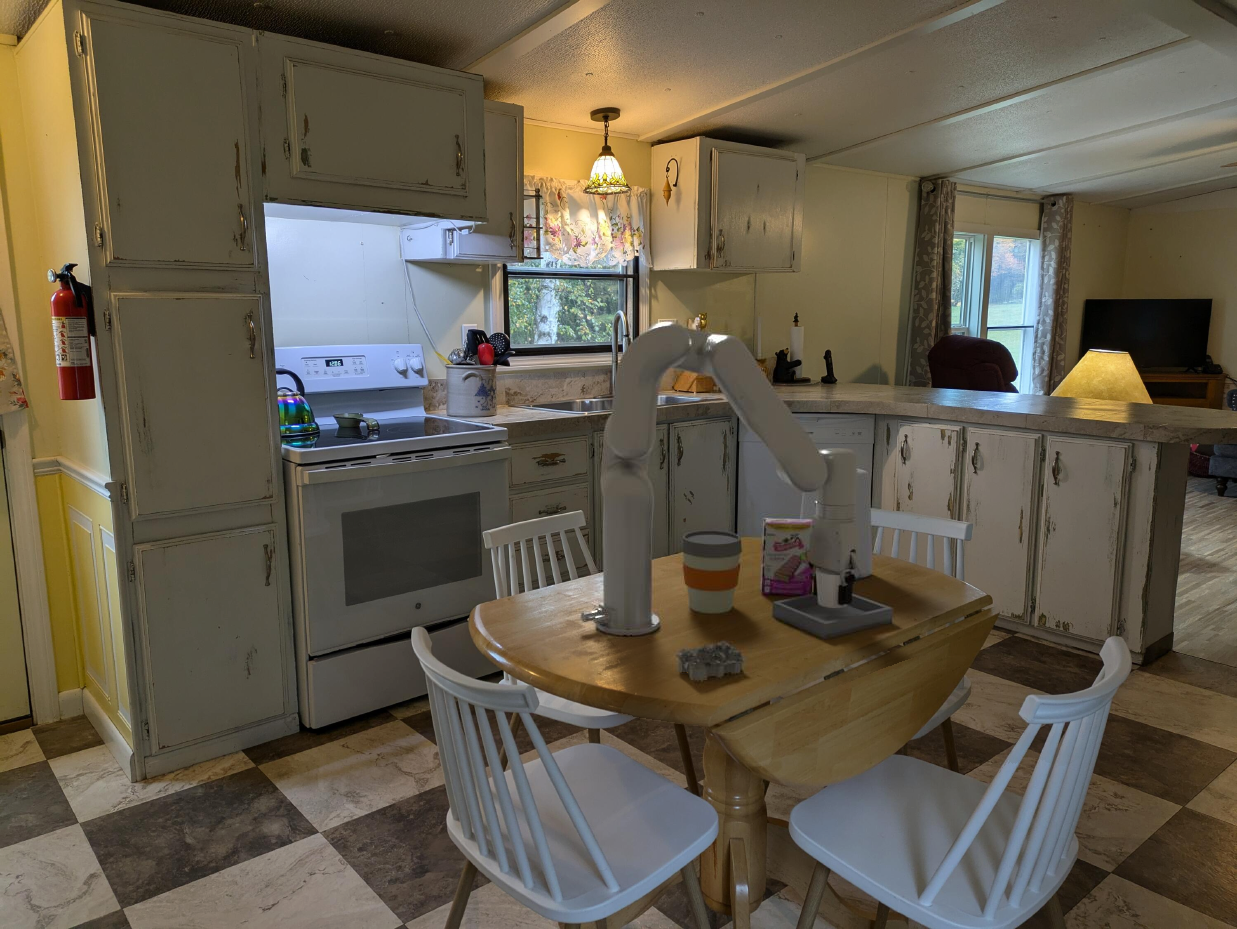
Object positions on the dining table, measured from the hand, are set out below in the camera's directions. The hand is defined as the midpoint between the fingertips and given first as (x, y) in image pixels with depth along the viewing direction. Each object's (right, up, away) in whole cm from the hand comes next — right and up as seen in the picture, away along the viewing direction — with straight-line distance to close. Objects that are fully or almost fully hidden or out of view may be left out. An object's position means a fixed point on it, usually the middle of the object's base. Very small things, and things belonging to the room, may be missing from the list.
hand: (832, 598), depth 169 cm
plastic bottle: (+9, +1, +33) cm, 34 cm away
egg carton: (-27, -9, -24) cm, 37 cm away
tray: (0, -4, +1) cm, 4 cm away
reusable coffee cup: (-23, -3, +9) cm, 25 cm away
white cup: (0, -1, 0) cm, 1 cm away
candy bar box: (-6, -2, +18) cm, 19 cm away
